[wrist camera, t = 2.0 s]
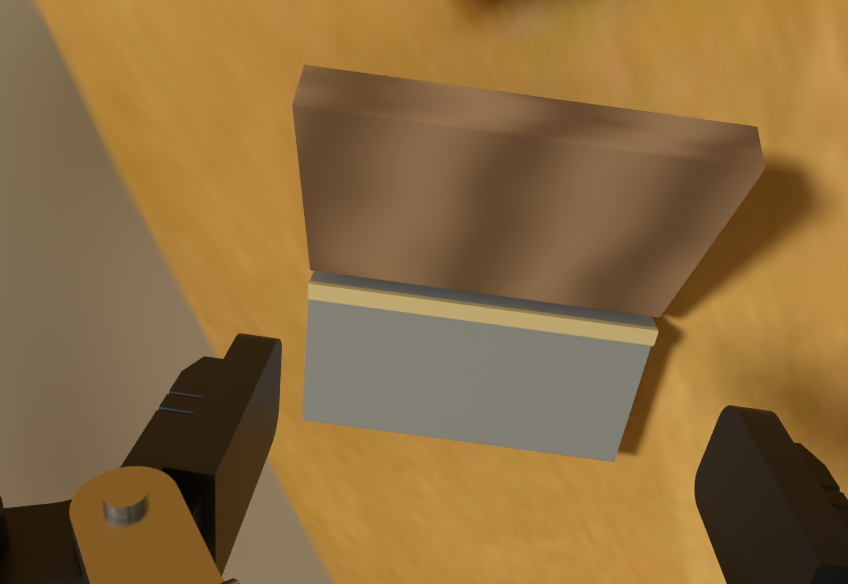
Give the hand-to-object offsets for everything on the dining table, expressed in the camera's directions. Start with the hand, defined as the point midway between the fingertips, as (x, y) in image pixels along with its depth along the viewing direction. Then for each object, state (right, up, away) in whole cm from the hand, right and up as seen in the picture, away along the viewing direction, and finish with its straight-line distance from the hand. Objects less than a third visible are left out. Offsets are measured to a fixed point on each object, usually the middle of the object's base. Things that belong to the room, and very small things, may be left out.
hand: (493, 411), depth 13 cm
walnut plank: (+2, +6, +16) cm, 18 cm away
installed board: (+1, -1, +23) cm, 23 cm away
